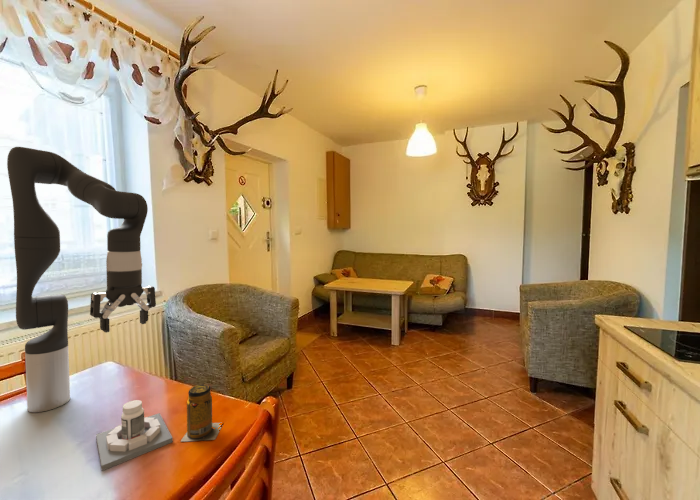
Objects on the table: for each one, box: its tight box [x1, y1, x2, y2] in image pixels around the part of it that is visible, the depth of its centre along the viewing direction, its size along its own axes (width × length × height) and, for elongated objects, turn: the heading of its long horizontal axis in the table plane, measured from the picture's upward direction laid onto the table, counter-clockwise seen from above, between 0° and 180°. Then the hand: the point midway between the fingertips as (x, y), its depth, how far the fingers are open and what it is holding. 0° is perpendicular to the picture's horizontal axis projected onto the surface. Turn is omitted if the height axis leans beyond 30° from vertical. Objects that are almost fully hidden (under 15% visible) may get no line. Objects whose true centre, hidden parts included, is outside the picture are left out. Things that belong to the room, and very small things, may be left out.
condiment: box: [180, 383, 222, 442], centre depth 81 cm, size 7×8×12 cm
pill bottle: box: [120, 399, 145, 440], centre depth 78 cm, size 5×5×8 cm
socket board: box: [95, 413, 174, 472], centre depth 78 cm, size 14×14×3 cm
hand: (125, 327), depth 82 cm, fingers open, 8 cm apart
